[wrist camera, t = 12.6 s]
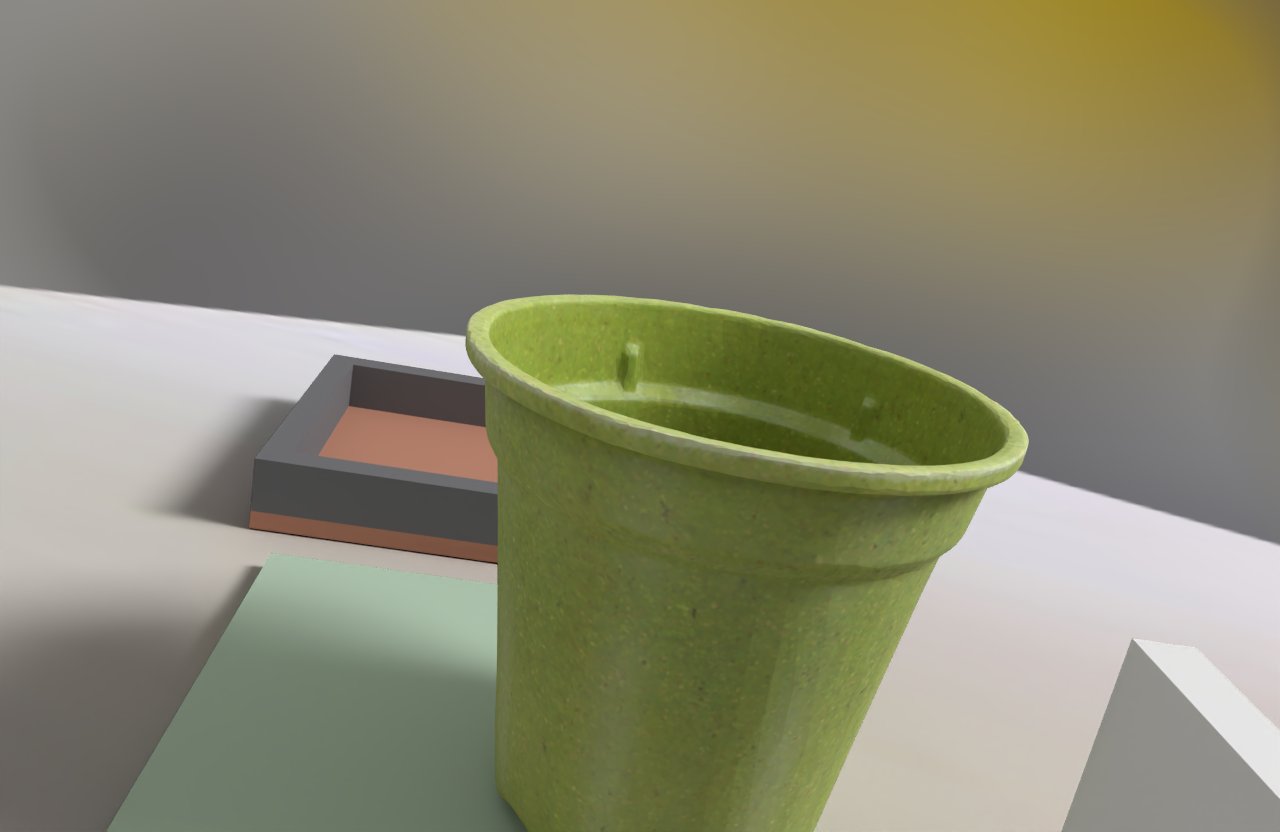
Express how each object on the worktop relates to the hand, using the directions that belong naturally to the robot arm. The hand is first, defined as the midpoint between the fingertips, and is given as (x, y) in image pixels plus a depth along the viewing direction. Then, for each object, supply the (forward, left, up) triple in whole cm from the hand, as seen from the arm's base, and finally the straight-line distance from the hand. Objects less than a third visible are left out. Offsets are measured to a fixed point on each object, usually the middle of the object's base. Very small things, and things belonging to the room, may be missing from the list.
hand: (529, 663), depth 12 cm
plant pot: (+7, -4, -7) cm, 11 cm away
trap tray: (+22, -4, -7) cm, 23 cm away
